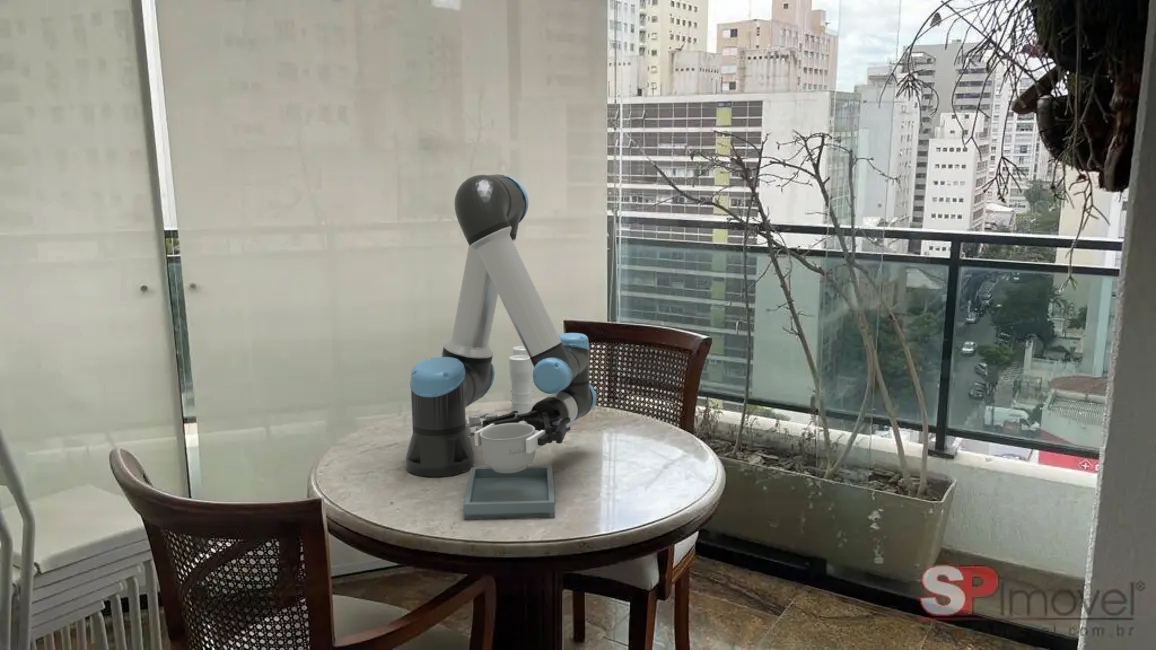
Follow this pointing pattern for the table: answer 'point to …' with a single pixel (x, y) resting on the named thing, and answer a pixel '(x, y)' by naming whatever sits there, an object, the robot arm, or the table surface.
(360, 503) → the table surface
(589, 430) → the table surface
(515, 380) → the binoculars
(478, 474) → the tray
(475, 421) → the pulley system
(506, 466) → the teacup
